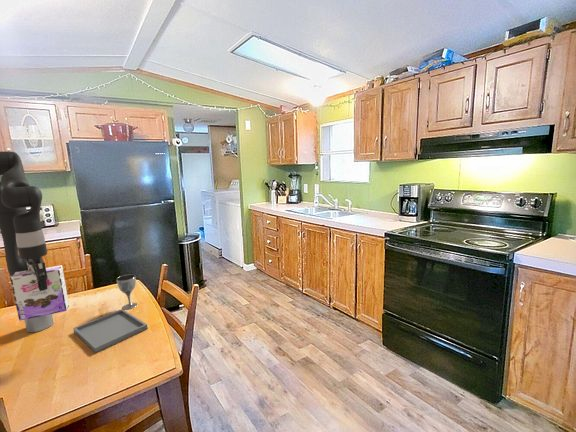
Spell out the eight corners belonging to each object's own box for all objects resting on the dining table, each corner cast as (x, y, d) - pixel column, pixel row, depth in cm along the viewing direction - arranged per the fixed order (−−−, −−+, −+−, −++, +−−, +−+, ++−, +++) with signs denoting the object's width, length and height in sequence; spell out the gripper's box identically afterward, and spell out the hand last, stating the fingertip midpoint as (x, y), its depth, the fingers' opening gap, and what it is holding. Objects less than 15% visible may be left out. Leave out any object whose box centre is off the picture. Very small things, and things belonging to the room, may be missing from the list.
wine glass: (131, 310, 141) (127, 281, 138) (117, 309, 143) (112, 280, 140) (142, 302, 149) (138, 274, 146) (128, 301, 150) (124, 273, 147)
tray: (74, 332, 124) (73, 328, 124) (122, 312, 139) (122, 309, 139) (95, 353, 109) (94, 348, 109) (147, 328, 125) (147, 324, 124)
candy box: (18, 321, 103) (8, 277, 100) (23, 314, 108) (14, 271, 105) (66, 311, 109) (59, 269, 106) (69, 304, 114) (62, 264, 111)
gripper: (50, 244, 102) (59, 288, 105) (39, 238, 111) (47, 279, 114) (22, 249, 97) (32, 296, 100) (12, 243, 105) (22, 286, 108)
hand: (40, 287), depth 107 cm, fingers closed on candy box, 7 cm apart
